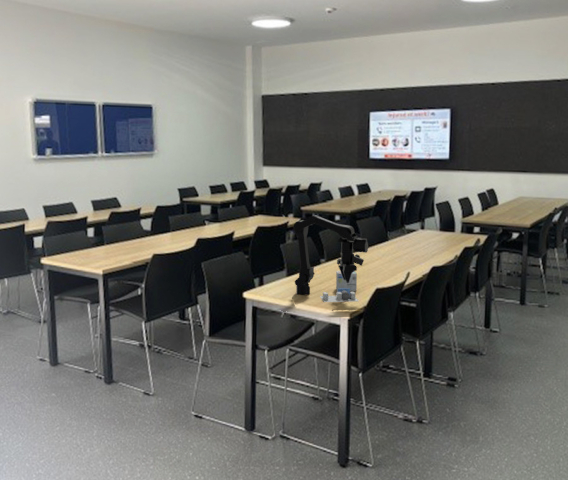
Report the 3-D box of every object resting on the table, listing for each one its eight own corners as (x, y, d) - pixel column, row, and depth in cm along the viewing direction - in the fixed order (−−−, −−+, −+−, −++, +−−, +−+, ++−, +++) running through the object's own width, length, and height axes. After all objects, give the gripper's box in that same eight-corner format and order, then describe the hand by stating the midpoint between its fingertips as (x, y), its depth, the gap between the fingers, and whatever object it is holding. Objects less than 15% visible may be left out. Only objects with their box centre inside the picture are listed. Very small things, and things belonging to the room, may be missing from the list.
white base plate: (323, 303, 298) (323, 294, 298) (319, 297, 310) (319, 288, 309) (359, 303, 300) (359, 293, 300) (353, 297, 312) (353, 287, 311)
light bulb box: (354, 289, 328) (355, 270, 327) (356, 292, 322) (357, 273, 320) (335, 289, 328) (335, 270, 326) (337, 292, 321) (337, 273, 320)
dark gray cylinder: (350, 299, 303) (349, 292, 302) (343, 300, 302) (342, 293, 302) (347, 296, 309) (346, 289, 308) (341, 297, 308) (340, 291, 308)
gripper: (367, 254, 294) (366, 285, 296) (358, 247, 312) (357, 277, 314) (345, 254, 292) (344, 285, 295) (337, 248, 310) (336, 277, 313)
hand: (346, 281), depth 304 cm, fingers open, 6 cm apart
